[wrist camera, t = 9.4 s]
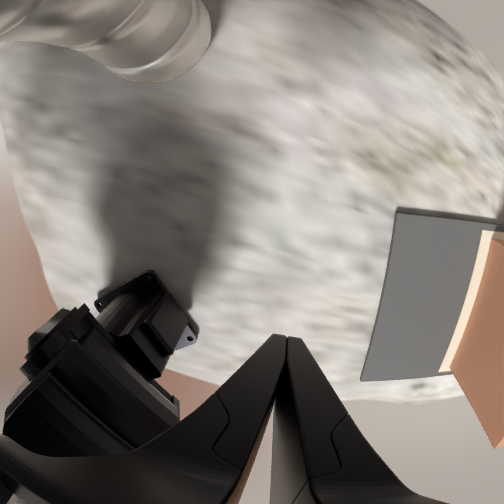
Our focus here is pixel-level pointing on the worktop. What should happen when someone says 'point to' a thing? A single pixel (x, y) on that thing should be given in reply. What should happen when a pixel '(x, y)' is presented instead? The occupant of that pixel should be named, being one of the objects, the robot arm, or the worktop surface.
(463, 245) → the mat
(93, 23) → the plastic bottle
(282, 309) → the worktop surface
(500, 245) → the t block
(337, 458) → the robot arm
